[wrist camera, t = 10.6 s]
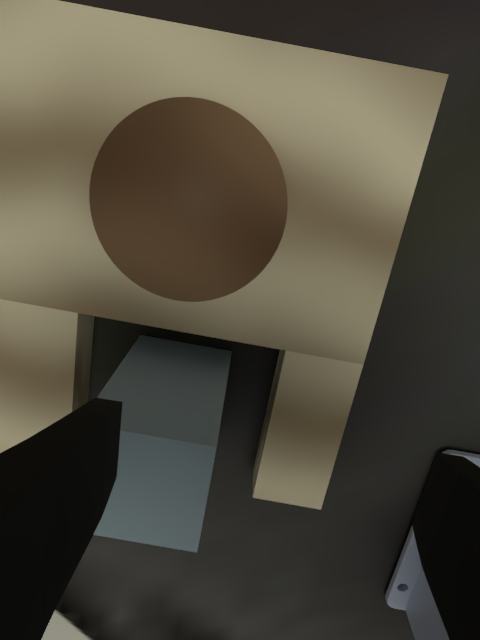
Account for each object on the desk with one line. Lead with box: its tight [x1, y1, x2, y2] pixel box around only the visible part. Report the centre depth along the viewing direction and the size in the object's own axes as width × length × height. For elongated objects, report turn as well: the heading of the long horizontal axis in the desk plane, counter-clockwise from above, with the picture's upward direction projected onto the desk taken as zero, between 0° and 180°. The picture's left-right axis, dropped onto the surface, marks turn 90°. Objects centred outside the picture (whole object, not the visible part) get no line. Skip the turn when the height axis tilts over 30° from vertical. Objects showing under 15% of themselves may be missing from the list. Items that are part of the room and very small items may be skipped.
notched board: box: [0, 0, 448, 510], centre depth 16 cm, size 17×14×5 cm
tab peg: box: [93, 335, 232, 552], centre depth 17 cm, size 4×4×7 cm
